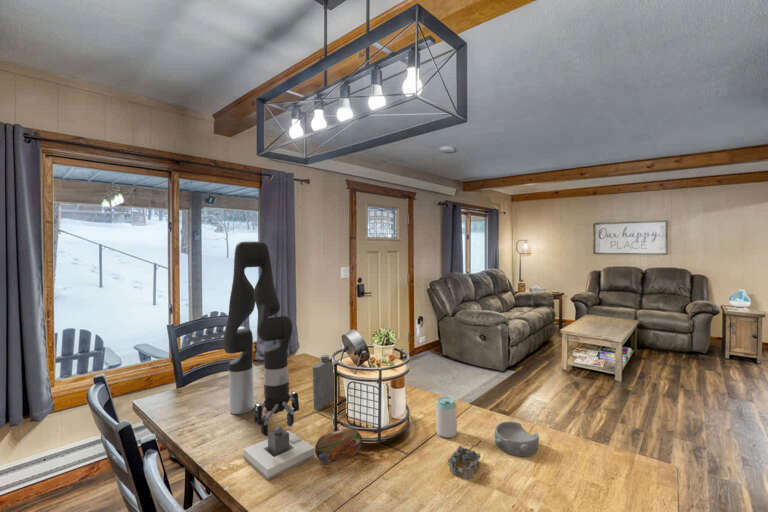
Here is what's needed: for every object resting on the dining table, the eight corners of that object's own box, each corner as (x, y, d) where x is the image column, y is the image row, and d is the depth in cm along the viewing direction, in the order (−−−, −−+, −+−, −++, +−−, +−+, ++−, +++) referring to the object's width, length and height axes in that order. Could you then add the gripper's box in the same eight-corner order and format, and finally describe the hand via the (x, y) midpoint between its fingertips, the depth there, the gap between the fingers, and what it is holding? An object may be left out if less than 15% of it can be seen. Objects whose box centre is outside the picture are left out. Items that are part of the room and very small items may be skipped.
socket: (243, 458, 119) (243, 447, 119) (288, 438, 130) (288, 428, 130) (267, 480, 108) (267, 467, 108) (314, 456, 119) (314, 445, 119)
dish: (506, 431, 133) (506, 417, 132) (546, 445, 123) (546, 430, 122) (485, 447, 122) (485, 432, 122) (526, 464, 113) (526, 448, 112)
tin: (317, 467, 113) (316, 440, 113) (314, 462, 116) (313, 435, 116) (362, 453, 120) (362, 427, 120) (358, 449, 123) (358, 423, 123)
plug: (268, 455, 119) (267, 428, 119) (282, 449, 122) (281, 423, 122) (275, 461, 116) (274, 433, 115) (289, 454, 119) (288, 428, 119)
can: (460, 433, 131) (460, 399, 131) (449, 441, 126) (449, 406, 126) (443, 426, 136) (443, 394, 136) (432, 434, 131) (431, 400, 131)
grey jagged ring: (470, 482, 105) (470, 468, 105) (445, 473, 109) (445, 460, 109) (483, 463, 114) (482, 449, 114) (459, 455, 118) (459, 443, 118)
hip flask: (318, 410, 152) (316, 361, 151) (310, 408, 154) (309, 360, 153) (341, 396, 166) (340, 351, 165) (334, 394, 168) (333, 350, 167)
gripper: (290, 371, 126) (291, 418, 127) (249, 383, 116) (251, 434, 117) (302, 377, 120) (303, 426, 121) (260, 390, 110) (262, 443, 111)
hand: (277, 430), depth 119 cm, fingers open, 8 cm apart
